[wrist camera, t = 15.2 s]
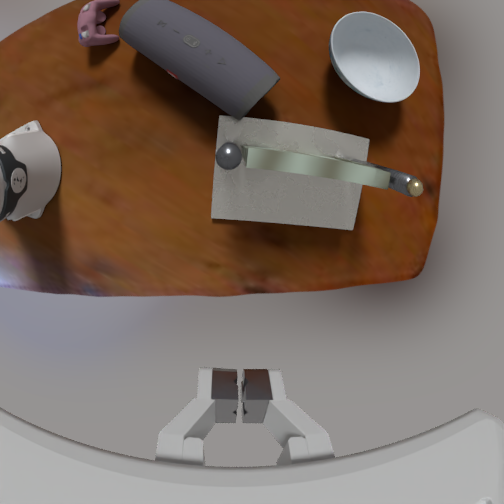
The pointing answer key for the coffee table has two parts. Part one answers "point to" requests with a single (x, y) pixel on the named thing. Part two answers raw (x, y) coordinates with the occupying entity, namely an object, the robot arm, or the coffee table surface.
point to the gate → (314, 166)
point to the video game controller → (90, 18)
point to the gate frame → (290, 176)
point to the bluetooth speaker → (198, 54)
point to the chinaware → (374, 57)
